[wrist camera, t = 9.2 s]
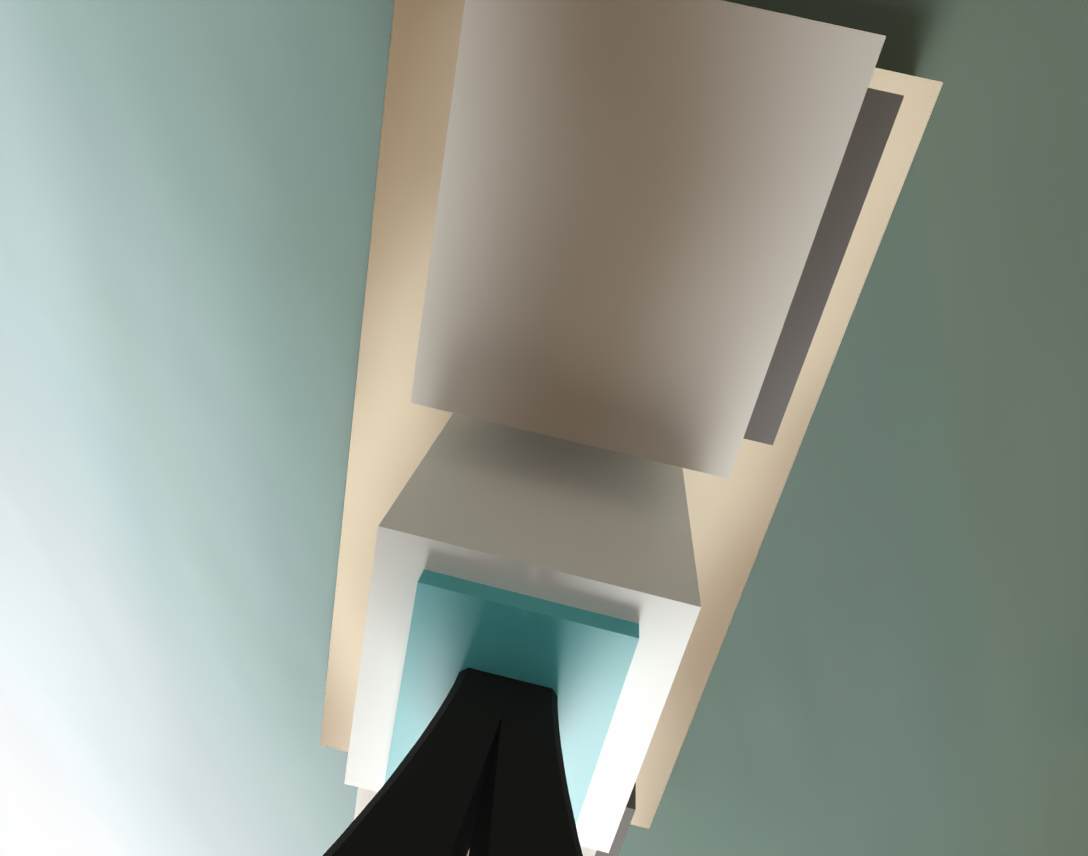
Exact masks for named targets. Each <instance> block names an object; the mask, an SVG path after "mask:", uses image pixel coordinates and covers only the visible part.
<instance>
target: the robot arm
mask: <svg viewBox="0 0 1088 856" xmlns="http://www.w3.org/2000/svg"><path fill="white" fill-rule="evenodd" d="M469 848H470V849H469ZM468 851H469V855H468ZM467 855H468V856H583V854H582V850H581V846H580V842H579V838H578V833H577V828H576V824H575V819H574V814H573V810H572V805H571V800H570V796H569V790H568V785H567V779H566V774H565V767H564V761H563V754H562V748H561V739H560V731H559V720H558V696H557V695H556V693H555V692H554V690H553V689H552V688H549V687H545V686H541V685H537V684H533V683H528V682H524V681H520V680H516V679H512V678H508V677H504V676H500V675H496V674H492V673H488V672H484V671H480V670H476V669H472V668H469V667H468V668H466V669H464V670H462V671H460V672H459V674H458V676H457V678H456V680H455V682H454V684H453V686H452V688H451V690H450V691H449V693H448V695H447V697H446V698H445V700H444V702H443V703H442V705H441V706H440V708H439V710H438V711H437V713H436V714H435V716H434V717H433V719H432V720H431V722H430V723H429V725H428V726H427V728H426V729H425V731H424V732H423V733H422V735H421V736H420V738H419V739H418V740H417V742H416V743H415V744H414V746H413V747H412V748H411V750H410V751H409V752H408V754H407V755H406V756H405V758H404V759H403V760H402V762H401V763H400V764H399V766H398V767H397V768H396V770H395V771H394V772H393V774H392V775H391V776H390V778H389V779H388V780H387V781H386V783H385V784H384V785H383V786H382V788H381V789H380V790H379V791H378V793H377V794H376V795H375V796H374V797H373V798H372V800H371V801H370V802H369V803H368V804H367V805H366V807H365V808H364V809H363V810H362V811H361V813H360V814H359V815H358V816H357V817H356V818H355V820H354V821H353V822H352V823H351V824H350V826H349V827H348V828H347V829H346V830H345V831H344V833H343V834H342V835H341V836H340V837H339V838H338V839H337V841H336V842H335V843H334V844H333V845H332V846H331V847H330V848H329V849H328V850H327V852H326V853H325V854H324V855H323V856H467Z"/></svg>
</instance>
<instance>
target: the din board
mask: <svg viewBox="0 0 1088 856" xmlns="http://www.w3.org/2000/svg"><path fill="white" fill-rule="evenodd" d="M885 38H886V36H884V35H879V34H875V33H870V32H866V31H861V30H856V29H852V28H847V27H843V26H838V25H833V24H829V23H824V22H820V21H815V20H810V19H806V18H801V17H797V16H792V15H787V14H783V13H778V12H774V11H769V10H764V9H760V8H755V7H751V6H746V5H741V4H737V3H732V2H727V1H723V0H395V3H394V13H393V23H392V33H391V43H390V53H389V63H388V73H387V83H386V93H385V103H384V113H383V123H382V133H381V143H380V153H379V163H378V173H377V183H376V193H375V203H374V213H373V223H372V233H371V243H370V253H369V263H368V273H367V283H366V293H365V303H364V313H363V323H362V333H361V343H360V353H359V363H358V373H357V383H356V393H355V403H354V413H353V423H352V433H351V443H350V453H349V463H348V473H347V483H346V493H345V503H344V513H343V523H342V533H341V543H340V553H339V563H338V573H337V583H336V593H335V603H334V613H333V623H332V633H331V643H330V653H329V663H328V672H327V682H326V692H325V702H324V712H323V722H322V732H321V742H320V745H323V746H327V747H331V748H334V749H338V750H342V751H346V752H349V744H350V737H351V729H352V722H353V714H354V707H355V699H356V691H357V684H358V676H359V669H360V661H361V654H362V646H363V638H364V631H365V623H366V616H367V608H368V601H369V593H370V585H371V578H372V570H373V563H374V555H375V548H376V540H377V532H378V526H379V524H380V523H381V521H382V520H383V518H384V517H385V515H386V514H387V512H388V511H389V509H390V508H391V506H392V505H393V503H394V502H395V500H396V499H397V497H398V496H399V494H400V493H401V491H402V490H403V488H404V487H405V485H406V484H407V482H408V481H409V479H410V478H411V476H412V475H413V473H414V472H415V470H416V469H417V467H418V465H419V464H420V462H421V461H422V459H423V458H424V456H425V455H426V453H427V452H428V450H429V449H430V447H431V446H432V444H433V443H434V441H435V440H436V438H437V437H438V435H439V434H440V432H441V431H442V429H443V428H444V426H445V425H446V423H447V422H448V420H449V419H450V417H451V416H452V414H453V413H456V414H460V415H464V416H468V417H472V418H477V419H481V420H485V421H489V422H493V423H498V424H502V425H506V426H510V427H514V428H518V429H523V430H527V431H531V432H535V433H539V434H544V435H548V436H552V437H556V438H560V439H565V440H569V441H573V442H577V443H581V444H585V445H590V446H594V447H598V448H602V449H606V450H611V451H615V452H619V453H623V454H627V455H631V456H636V457H640V458H644V459H648V460H652V461H657V462H661V463H665V464H669V465H673V466H678V467H682V468H683V476H684V483H685V491H686V498H687V506H688V513H689V520H690V528H691V535H692V543H693V550H694V558H695V565H696V573H697V580H698V588H699V595H700V602H701V609H700V612H699V614H698V617H697V620H696V622H695V625H694V627H693V630H692V633H691V635H690V638H689V641H688V643H687V646H686V649H685V651H684V654H683V657H682V659H681V662H680V665H679V667H678V670H677V673H676V675H675V678H674V681H673V683H672V686H671V689H670V691H669V694H668V697H667V699H666V702H665V704H664V707H663V710H662V712H661V715H660V718H659V720H658V723H657V726H656V728H655V731H654V734H653V736H652V739H651V742H650V744H649V747H648V750H647V752H646V755H645V758H644V760H643V763H642V766H641V768H640V771H639V774H638V776H637V779H636V781H635V784H634V787H633V789H632V792H631V795H630V797H629V800H628V803H627V805H626V808H625V811H624V813H623V816H622V819H621V821H620V824H619V827H618V829H617V832H616V835H615V837H614V840H613V843H612V845H611V848H610V851H609V853H606V852H602V851H598V850H595V849H591V848H587V847H583V846H581V850H582V854H583V856H618V855H619V852H620V850H621V847H622V844H623V842H624V839H625V836H626V834H627V831H628V828H629V826H630V824H632V825H636V826H640V827H644V828H647V829H649V827H650V825H651V822H652V820H653V817H654V815H655V812H656V810H657V807H658V804H659V802H660V799H661V797H662V794H663V792H664V789H665V787H666V784H667V782H668V779H669V777H670V774H671V771H672V769H673V766H674V764H675V761H676V759H677V756H678V754H679V751H680V749H681V746H682V744H683V741H684V739H685V736H686V733H687V731H688V728H689V726H690V723H691V721H692V718H693V716H694V713H695V711H696V708H697V706H698V703H699V700H700V698H701V695H702V693H703V690H704V688H705V685H706V683H707V680H708V678H709V675H710V673H711V670H712V668H713V665H714V662H715V660H716V657H717V655H718V652H719V650H720V647H721V645H722V642H723V640H724V637H725V635H726V632H727V629H728V627H729V624H730V622H731V619H732V617H733V614H734V612H735V609H736V607H737V604H738V602H739V599H740V597H741V594H742V591H743V589H744V586H745V584H746V581H747V579H748V576H749V574H750V571H751V569H752V566H753V564H754V561H755V558H756V556H757V553H758V551H759V548H760V546H761V543H762V541H763V538H764V536H765V533H766V531H767V528H768V526H769V523H770V520H771V518H772V515H773V513H774V510H775V508H776V505H777V503H778V500H779V498H780V495H781V493H782V490H783V487H784V485H785V482H786V480H787V477H788V475H789V472H790V470H791V467H792V465H793V462H794V460H795V457H796V455H797V452H798V449H799V447H800V444H801V442H802V439H803V437H804V434H805V432H806V429H807V427H808V424H809V422H810V419H811V416H812V414H813V411H814V409H815V406H816V404H817V401H818V399H819V396H820V394H821V391H822V389H823V386H824V384H825V381H826V378H827V376H828V373H829V371H830V368H831V366H832V363H833V361H834V358H835V356H836V353H837V351H838V348H839V345H840V343H841V340H842V338H843V335H844V333H845V330H846V328H847V325H848V323H849V320H850V318H851V315H852V313H853V310H854V307H855V305H856V302H857V300H858V297H859V295H860V292H861V290H862V287H863V285H864V282H865V280H866V277H867V274H868V272H869V269H870V267H871V264H872V262H873V259H874V257H875V254H876V252H877V249H878V247H879V244H880V242H881V239H882V236H883V234H884V231H885V229H886V226H887V224H888V221H889V219H890V216H891V214H892V211H893V209H894V206H895V203H896V201H897V198H898V196H899V193H900V191H901V188H902V186H903V183H904V181H905V178H906V176H907V173H908V171H909V168H910V165H911V163H912V160H913V158H914V155H915V153H916V150H917V148H918V145H919V143H920V140H921V138H922V135H923V132H924V130H925V127H926V125H927V122H928V120H929V117H930V115H931V112H932V110H933V107H934V105H935V102H936V100H937V97H938V94H939V92H940V89H941V87H942V84H943V82H939V81H934V80H930V79H925V78H921V77H916V76H911V75H907V74H902V73H898V72H893V71H889V70H884V69H879V68H875V66H876V63H877V61H878V58H879V55H880V52H881V49H882V46H883V44H884V41H885ZM377 793H378V792H375V791H371V790H367V789H363V788H359V787H358V793H357V800H356V808H355V815H354V820H355V818H356V817H357V816H358V815H359V814H360V813H361V811H362V810H363V809H364V808H365V807H366V805H367V804H368V803H369V802H370V801H371V800H372V798H373V797H374V796H375V795H376V794H377ZM469 849H470V848H469ZM468 855H469V851H468ZM468 855H467V856H468Z"/></svg>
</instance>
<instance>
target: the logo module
mask: <svg viewBox="0 0 1088 856" xmlns="http://www.w3.org/2000/svg"><path fill="white" fill-rule="evenodd" d="M700 609H701V602H700V595H699V588H698V580H697V573H696V565H695V558H694V550H693V543H692V535H691V528H690V520H689V513H688V506H687V498H686V491H685V483H684V476H683V468H682V467H678V466H673V465H669V464H665V463H661V462H657V461H652V460H648V459H644V458H640V457H636V456H631V455H627V454H623V453H619V452H615V451H611V450H606V449H602V448H598V447H594V446H590V445H585V444H581V443H577V442H573V441H569V440H565V439H560V438H556V437H552V436H548V435H544V434H539V433H535V432H531V431H527V430H523V429H518V428H514V427H510V426H506V425H502V424H498V423H493V422H489V421H485V420H481V419H477V418H472V417H468V416H464V415H460V414H456V413H453V414H452V416H451V417H450V419H449V420H448V422H447V423H446V425H445V426H444V428H443V429H442V431H441V432H440V434H439V435H438V437H437V438H436V440H435V441H434V443H433V444H432V446H431V447H430V449H429V450H428V452H427V453H426V455H425V456H424V458H423V459H422V461H421V462H420V464H419V465H418V467H417V469H416V470H415V472H414V473H413V475H412V476H411V478H410V479H409V481H408V482H407V484H406V485H405V487H404V488H403V490H402V491H401V493H400V494H399V496H398V497H397V499H396V500H395V502H394V503H393V505H392V506H391V508H390V509H389V511H388V512H387V514H386V515H385V517H384V518H383V520H382V521H381V523H380V524H379V526H378V532H377V540H376V548H375V555H374V563H373V570H372V578H371V585H370V593H369V601H368V608H367V616H366V623H365V631H364V638H363V646H362V654H361V661H360V669H359V676H358V684H357V691H356V699H355V707H354V714H353V722H352V729H351V737H350V744H349V752H348V760H347V767H346V775H345V782H344V784H348V785H352V786H356V787H359V788H363V789H367V790H371V791H375V792H378V791H379V790H380V789H381V788H382V786H383V785H384V784H385V783H386V781H387V780H388V779H389V778H390V776H391V775H392V774H393V772H394V771H395V770H396V768H397V767H398V766H399V764H400V763H401V762H402V760H403V759H404V758H405V756H406V755H407V754H408V752H409V751H410V750H411V748H412V747H413V746H414V744H415V743H416V742H417V740H418V739H419V738H420V736H421V735H422V733H423V732H424V731H425V729H426V728H427V726H428V725H429V723H430V722H431V720H432V719H433V717H434V716H435V714H436V713H437V711H438V710H439V708H440V706H441V705H442V703H443V702H444V700H445V698H446V697H447V695H448V693H449V691H450V690H451V688H452V686H453V684H454V682H455V680H456V678H457V676H458V674H459V672H460V671H462V670H464V669H466V668H468V667H469V668H472V669H476V670H480V671H484V672H488V673H492V674H496V675H500V676H504V677H508V678H512V679H516V680H520V681H524V682H528V683H533V684H537V685H541V686H545V687H549V688H552V689H553V690H554V692H555V693H556V695H557V696H558V720H559V731H560V739H561V748H562V754H563V761H564V767H565V774H566V779H567V785H568V790H569V796H570V800H571V805H572V810H573V814H574V819H575V824H576V828H577V833H578V838H579V842H580V846H583V847H587V848H591V849H595V850H598V851H602V852H606V853H609V851H610V848H611V845H612V843H613V840H614V837H615V835H616V832H617V829H618V827H619V824H620V821H621V819H622V816H623V813H624V811H625V808H626V805H627V803H628V800H629V797H630V795H631V792H632V789H633V787H634V784H635V781H636V779H637V776H638V774H639V771H640V768H641V766H642V763H643V760H644V758H645V755H646V752H647V750H648V747H649V744H650V742H651V739H652V736H653V734H654V731H655V728H656V726H657V723H658V720H659V718H660V715H661V712H662V710H663V707H664V704H665V702H666V699H667V697H668V694H669V691H670V689H671V686H672V683H673V681H674V678H675V675H676V673H677V670H678V667H679V665H680V662H681V659H682V657H683V654H684V651H685V649H686V646H687V643H688V641H689V638H690V635H691V633H692V630H693V627H694V625H695V622H696V620H697V617H698V614H699V612H700Z"/></svg>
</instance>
